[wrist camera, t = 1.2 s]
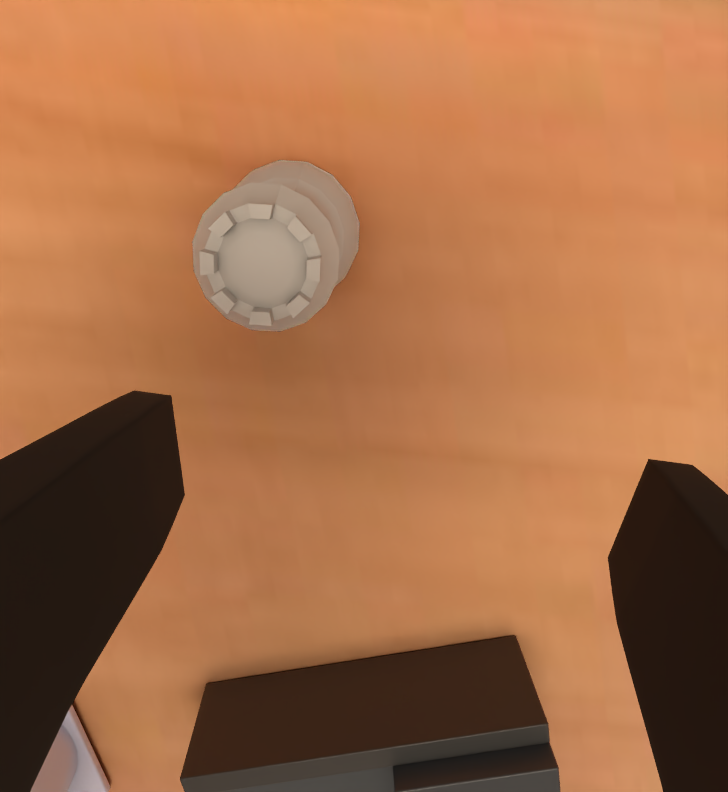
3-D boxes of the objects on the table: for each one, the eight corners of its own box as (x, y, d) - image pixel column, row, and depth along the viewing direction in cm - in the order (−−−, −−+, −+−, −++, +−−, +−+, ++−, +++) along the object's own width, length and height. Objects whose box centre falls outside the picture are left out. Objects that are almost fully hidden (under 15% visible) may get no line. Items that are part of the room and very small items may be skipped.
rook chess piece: (239, 142, 19) (167, 121, 11) (375, 181, 19) (392, 184, 12) (215, 280, 20) (137, 342, 13) (342, 311, 21) (339, 390, 13)
